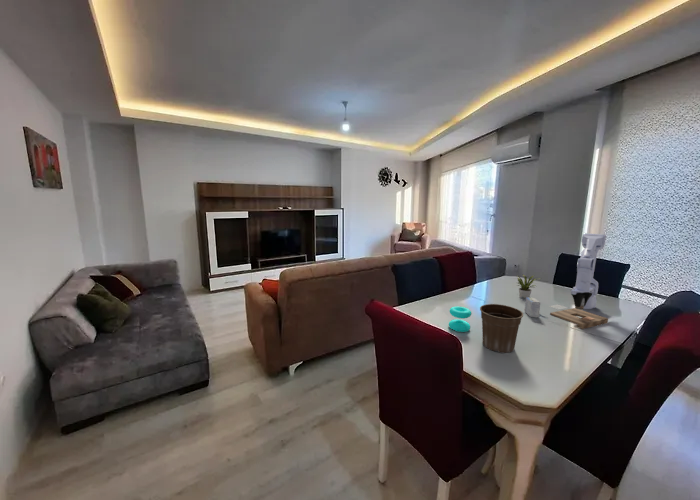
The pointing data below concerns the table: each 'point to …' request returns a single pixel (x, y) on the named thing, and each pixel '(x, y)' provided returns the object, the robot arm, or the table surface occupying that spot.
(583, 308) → the steel peg
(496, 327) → the plant pot
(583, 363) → the table surface
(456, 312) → the donuts
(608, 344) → the table surface
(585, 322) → the hole plate
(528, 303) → the medicine box
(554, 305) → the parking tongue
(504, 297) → the table surface
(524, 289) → the house plant
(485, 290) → the table surface
